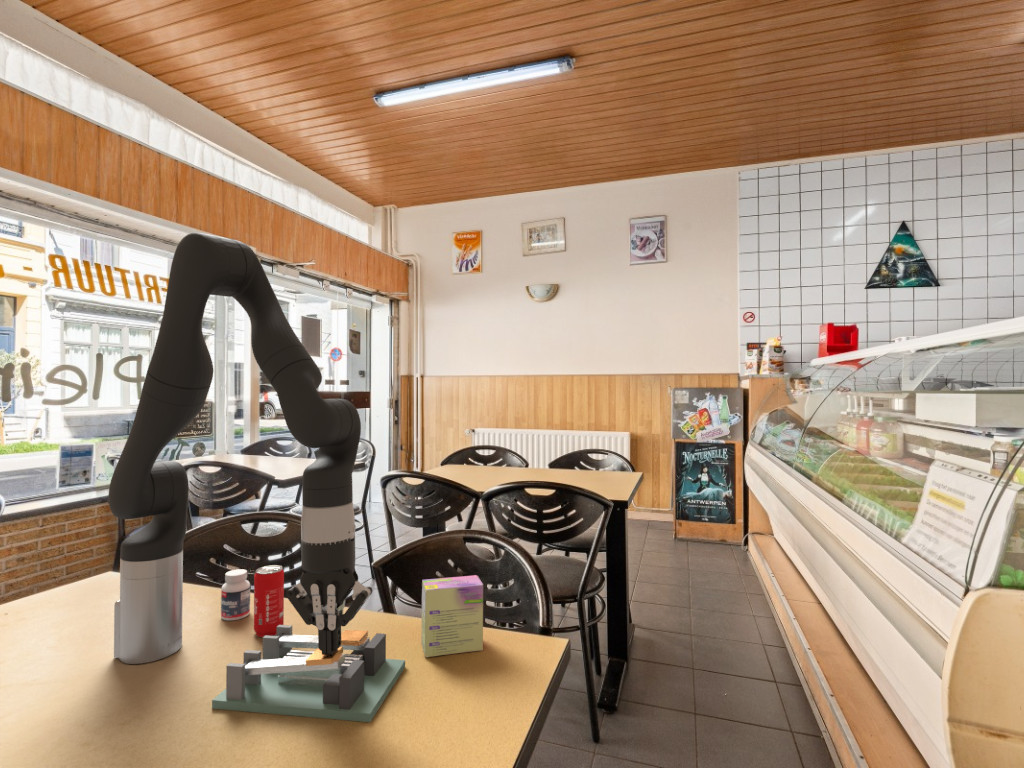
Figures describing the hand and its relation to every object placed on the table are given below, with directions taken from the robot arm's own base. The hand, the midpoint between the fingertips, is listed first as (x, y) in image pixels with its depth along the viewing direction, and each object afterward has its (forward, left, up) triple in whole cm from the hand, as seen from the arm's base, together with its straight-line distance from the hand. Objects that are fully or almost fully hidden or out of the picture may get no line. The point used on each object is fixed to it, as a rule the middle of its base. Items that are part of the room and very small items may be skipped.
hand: (330, 652), depth 79 cm
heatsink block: (-4, +5, -7) cm, 9 cm away
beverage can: (-23, +21, -8) cm, 32 cm away
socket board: (-5, +5, -8) cm, 10 cm away
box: (+13, +20, -8) cm, 25 cm away
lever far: (-6, +9, -4) cm, 12 cm away
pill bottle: (-34, +27, -8) cm, 44 cm away
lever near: (-6, 0, -3) cm, 7 cm away
